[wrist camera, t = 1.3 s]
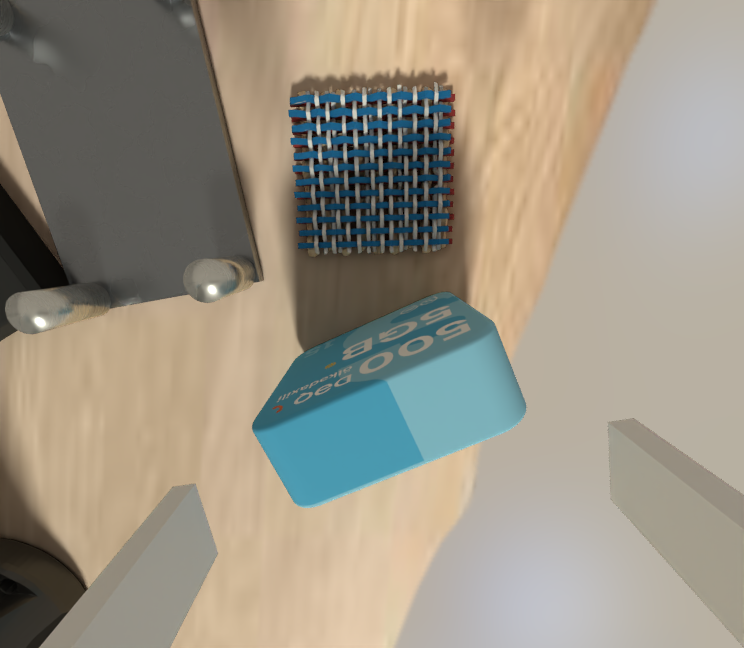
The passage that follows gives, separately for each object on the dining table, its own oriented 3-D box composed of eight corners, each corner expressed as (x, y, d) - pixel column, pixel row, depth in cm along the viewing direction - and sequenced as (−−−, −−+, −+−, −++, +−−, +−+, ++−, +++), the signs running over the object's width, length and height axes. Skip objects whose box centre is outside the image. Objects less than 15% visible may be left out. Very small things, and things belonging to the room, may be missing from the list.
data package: (446, 287, 26) (504, 325, 14) (468, 342, 27) (541, 421, 15) (297, 353, 27) (238, 438, 16) (323, 404, 28) (287, 520, 16)
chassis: (92, 316, 27) (13, 337, 21) (-18, 5, 22) (-158, -79, 16) (265, 285, 26) (233, 298, 20) (186, -40, 22) (116, -144, 16)
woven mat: (450, 252, 26) (457, 254, 24) (303, 257, 26) (297, 258, 24) (454, 90, 24) (461, 76, 22) (291, 95, 24) (284, 82, 22)
